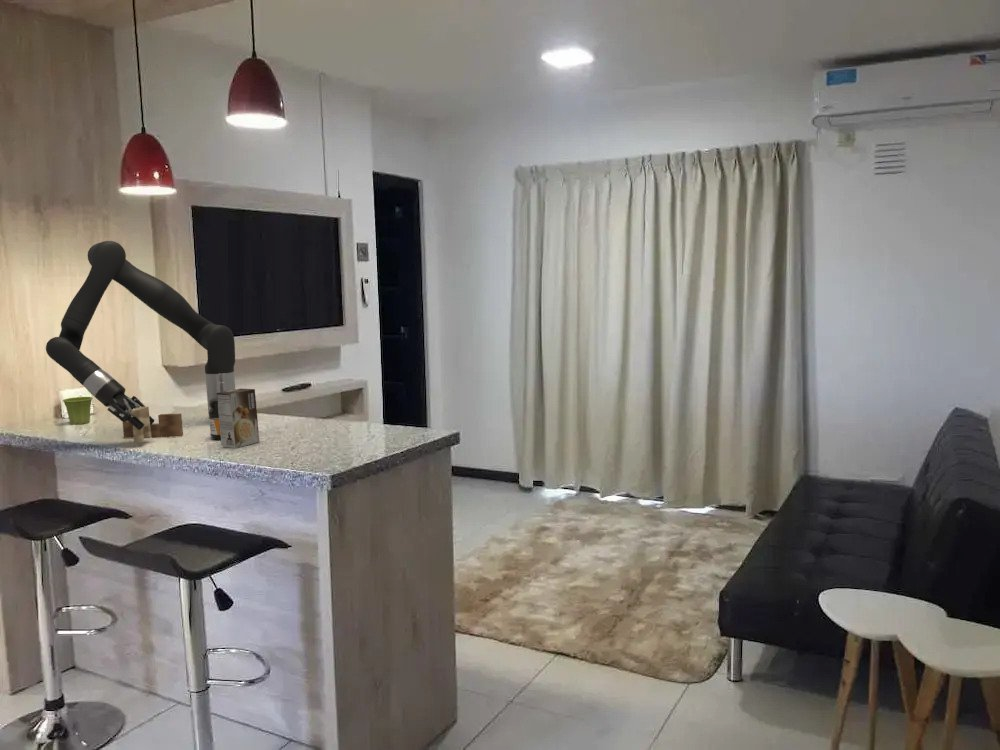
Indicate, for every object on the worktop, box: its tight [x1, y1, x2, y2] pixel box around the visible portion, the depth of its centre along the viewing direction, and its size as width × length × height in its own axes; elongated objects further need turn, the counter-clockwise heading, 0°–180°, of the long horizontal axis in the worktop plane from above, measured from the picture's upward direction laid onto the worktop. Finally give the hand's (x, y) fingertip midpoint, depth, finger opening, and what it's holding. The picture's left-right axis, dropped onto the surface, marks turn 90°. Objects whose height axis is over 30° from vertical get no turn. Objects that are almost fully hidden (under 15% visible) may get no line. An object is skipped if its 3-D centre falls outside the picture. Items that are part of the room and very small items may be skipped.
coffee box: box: [217, 388, 260, 449], centre depth 238 cm, size 9×6×16 cm
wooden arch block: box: [131, 406, 152, 443], centre depth 244 cm, size 2×6×10 cm, turn 178°
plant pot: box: [62, 396, 94, 425], centre depth 286 cm, size 9×9×9 cm
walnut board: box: [122, 413, 184, 439], centre depth 256 cm, size 18×2×7 cm, turn 88°
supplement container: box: [208, 398, 221, 441], centre depth 251 cm, size 10×10×12 cm
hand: (147, 425), depth 244 cm, fingers closed on wooden arch block, 6 cm apart
